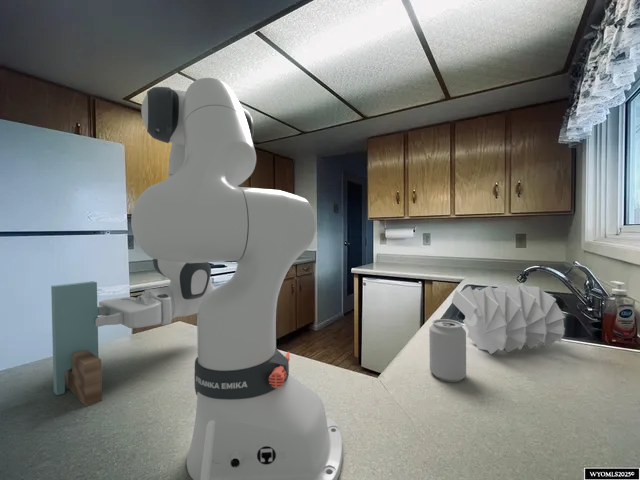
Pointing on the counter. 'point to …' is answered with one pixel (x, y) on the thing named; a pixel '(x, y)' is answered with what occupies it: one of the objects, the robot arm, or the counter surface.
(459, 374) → the can
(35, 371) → the counter surface
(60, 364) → the teal plate
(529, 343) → the spiral staircase
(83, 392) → the notched walnut block
